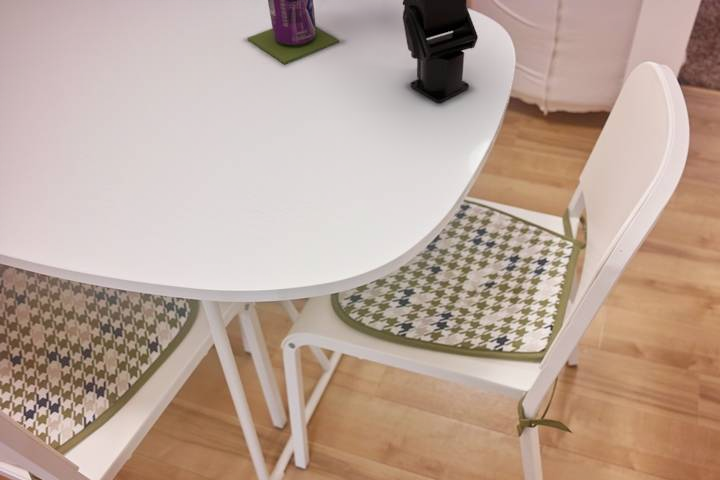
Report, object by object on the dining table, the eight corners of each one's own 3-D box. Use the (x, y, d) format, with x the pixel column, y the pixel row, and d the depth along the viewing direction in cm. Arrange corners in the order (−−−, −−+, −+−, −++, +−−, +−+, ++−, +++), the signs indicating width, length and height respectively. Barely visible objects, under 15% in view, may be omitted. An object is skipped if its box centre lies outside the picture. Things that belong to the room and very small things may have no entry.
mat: (339, 42, 102) (339, 39, 102) (284, 64, 97) (284, 62, 97) (301, 20, 108) (301, 17, 107) (247, 40, 103) (247, 37, 102)
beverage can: (309, 50, 99) (300, -26, 91) (268, 46, 100) (255, -30, 92) (322, 30, 104) (314, -44, 95) (282, 26, 105) (271, -47, 96)
